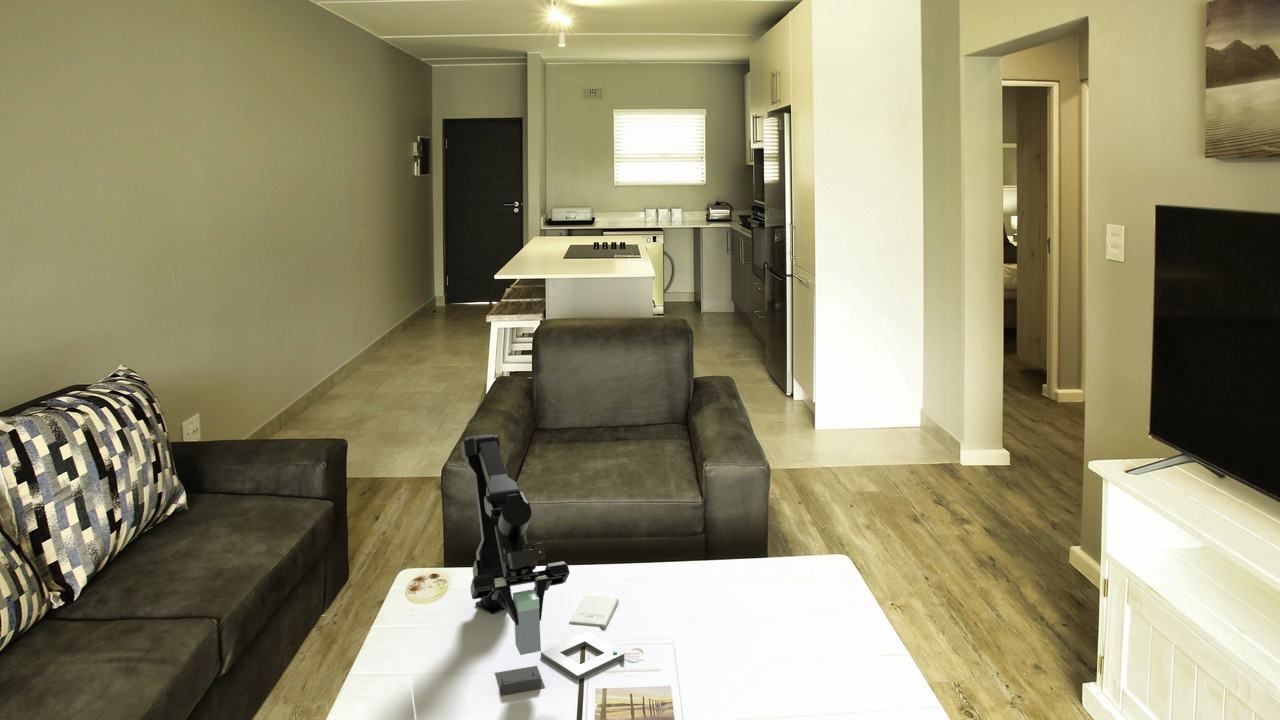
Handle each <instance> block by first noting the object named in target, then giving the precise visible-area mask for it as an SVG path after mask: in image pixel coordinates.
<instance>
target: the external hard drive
mask: <svg viewBox="0 0 1280 720" xmlns="http://www.w3.org/2000/svg"><path fill="white" fill-rule="evenodd" d="M618 604H619V598H618V597H614V596H613V597H612V596H611V597H610V596H602V595H592V594H591V595H588V594H585V595H583V596H582V598H581V600H580V602H579V604H578V605H577V607H576V609H575V611H574V613H573V615H572V616H571V618H570V620H569V623H568V624H576V625H586V626H597V627H599V628H600V629H607V627H608V625H609V623H610V620H611V618H612V616H613V615H614V613H615V610H616V608H617V606H618Z"/></svg>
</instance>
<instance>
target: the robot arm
mask: <svg viewBox="0 0 1280 720" xmlns="http://www.w3.org/2000/svg"><path fill="white" fill-rule="evenodd" d="M502 447H503V446H502V439H501V436H498V435H496V434H491V433H490V434H489V433H488V434H481V435H473V436H466V437H465V440H463V441H462V442H461V443H460V450H461V456H462V458H463V459H464V462H465V466H466V468H468V470H469V471H470V472H471V473H472V475H473V477H474V479H473V480H474V484H475V485H474V486H475V487H474V488H475V495H476V501H477V502H476V504H477V512H478V519H479V520H478V521H479V528H480V530H479V531H480V535H481V536H480V538H481V540H480V543H479V545H478V547H477V549H476V552H475V555H476V558H475V559H476V560H474V563H473V567H472V576H473V578H472V580H471V584H470V594H471V599H472V600H478V599H480V600H478V601H476V602H475V606H476V607H478V606H479V607H478V608H481V609H482V608H483V609H482V610H485V611H487V612H488V613H491V614H495V613H497V612H500V611H502V610H503V609H505V611H506V613H508V615H509V617H510V618H511V619H512V621H513V623H514V625H515V624H516V625H518V624H519V622H518V616H517V612H516V609H515V605H514V602H513V594H512V589H511V587H513V586H514V587H515V586H519V585H520V586H521V585H524V584H525V585H526V584H531V583H533V584H534V588H533V589H534V591H535V592H536V594H537V596H538V598H539V618H540V622H541V621H542V613H543V604H544V596H545V592H546V591H549V588H550V587H552V586H557V585H561V584H562V585H563V584H564V583H566V581H567V580H568V577H569V575H570V568H569V565H568V564H567V563H566V562H565V561H564V560H562V561H558V562H550V563H547V564H546V566H545V568H544V570H537V571H534V570H536V568H537V566H538V562H537V561H540V560H545V559H546V552H545V547H544V544H543V542H538V543H533V544H532V545H531V548H530V546H529V543H528V541H527V535H526V531H527V530H528V527H529V523H530V521H531V518H532V514H533V513H532V508H531V503H530V501H529V499H527V497H526V496H525V495H524V493H523V491H521V490H520V488H519V485H518V484H517V481H515V480H514V479H512V478H511V477H509V475H508V472H507V469H506V466H505V464H504V463H505V462H504V460H503V457H502V454H501V453H503V448H502Z"/></svg>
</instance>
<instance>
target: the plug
mask: <svg viewBox="0 0 1280 720" xmlns="http://www.w3.org/2000/svg"><path fill="white" fill-rule="evenodd" d="M512 599H513V602H514V605H515V609H516V612H517V616H518V622H519V624H518V625H516V624H515V623H514V636H515V637H514V638H515V646H516V647H515V648H516V649H517V651H518V653H519V655H520V656H523V655H527V654H533V653H538V652H542V648H541V647H542V645H541V623H540V622H541V621H540V618H539V598H538V596H537V594H536V592H535V591H534V588H533V589H528V590H527V589H526V590H522V591H517V592H512Z"/></svg>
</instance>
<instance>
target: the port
mask: <svg viewBox="0 0 1280 720" xmlns="http://www.w3.org/2000/svg"><path fill="white" fill-rule="evenodd" d="M583 647H586V648H588V649H590V650H591V651H593V652H595V653H596V654H599V655H598V656H596V657H593V658H592V659H590V660H587V661H585V662H582V663H581V664H579V663H577V662H576V661H574V660H573V659H571V658H569V657H568V656H567V655H568V654H569V653H572V652H574V651H576V650H578V649H581V648H583ZM540 658H542V659H544V660H545V661H547V662H548V663H550V664H551V665H552V666H555V667H557V668H558V669H559V670H561V671H562V672H564V673H565V674H567V675H568V676H570V677H571V678H573V679H574V680H576V681H580V680H581V679H584V678H586V677H589V676H590V675H592V674H594V673H596V672H598V671H601V670H602V669H605V668H607V667H609V666H611V665H613V664H615V663H617V662H619V663H621V662H623V661H625V653H624V652H623V651H621V650H619V649H618V648H616V647H614V646H613V645H610V643H607V642H606V641H603V640H602V639H600V638H599V637H597V636H595V635H594V634H592V633H590V632H588V631H585V632H583V633H580V634H578V635H575V636H574V637H572V638H569V639H567V640H565V641H563V642H561V643H558V644H556V645H553V646H551V647H549V648H547V649H545V650H541V651H540Z"/></svg>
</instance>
